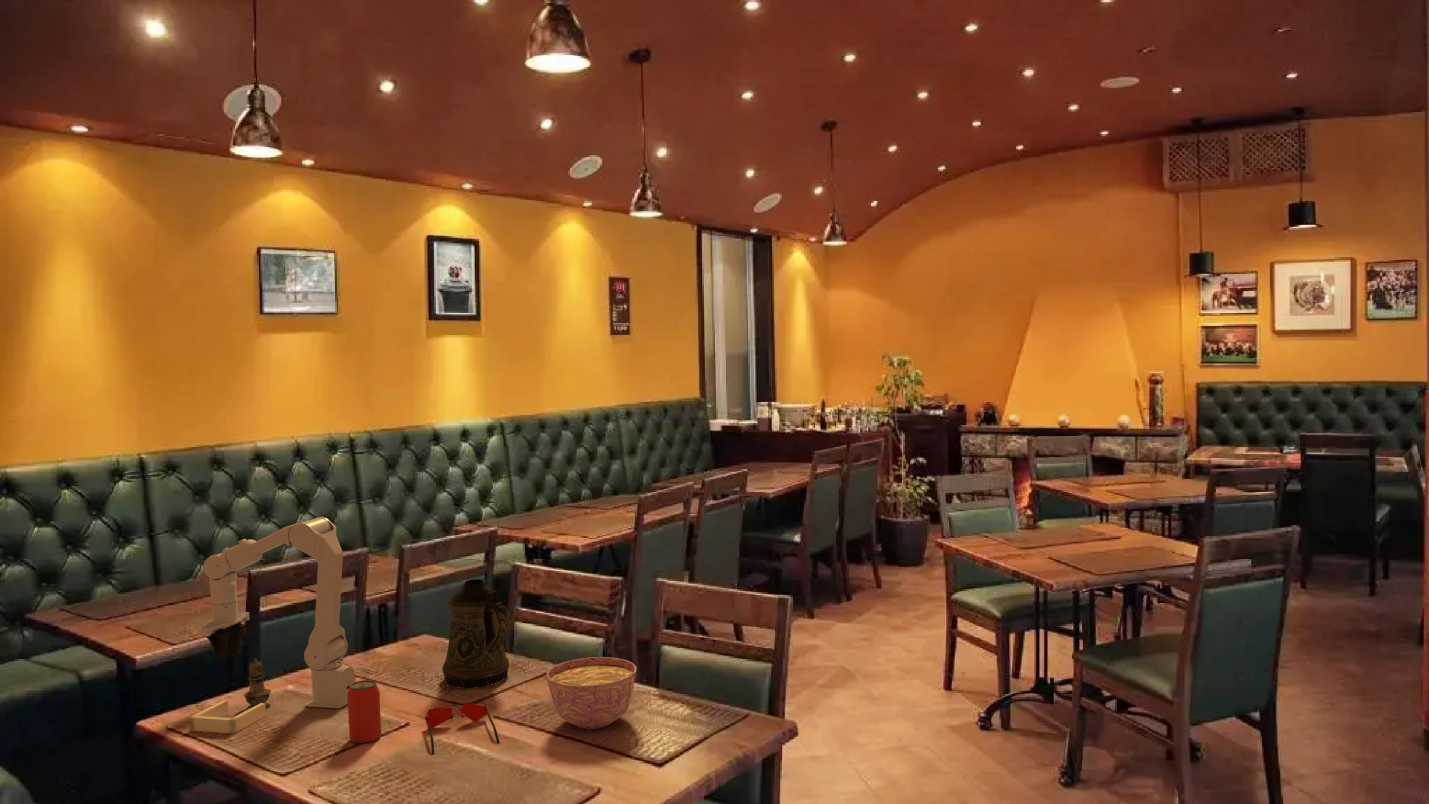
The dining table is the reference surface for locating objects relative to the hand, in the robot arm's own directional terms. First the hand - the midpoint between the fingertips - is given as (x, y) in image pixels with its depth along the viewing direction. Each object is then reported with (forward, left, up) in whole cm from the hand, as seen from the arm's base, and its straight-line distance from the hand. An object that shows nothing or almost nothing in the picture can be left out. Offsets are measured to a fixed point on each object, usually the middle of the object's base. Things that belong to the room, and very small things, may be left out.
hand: (227, 657), depth 248 cm
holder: (-11, +14, -10) cm, 21 cm away
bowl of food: (-94, 0, -11) cm, 95 cm away
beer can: (-48, +17, -11) cm, 52 cm away
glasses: (-68, +12, -11) cm, 70 cm away
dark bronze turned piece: (-11, +4, -11) cm, 16 cm away
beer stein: (-55, -24, -11) cm, 61 cm away
